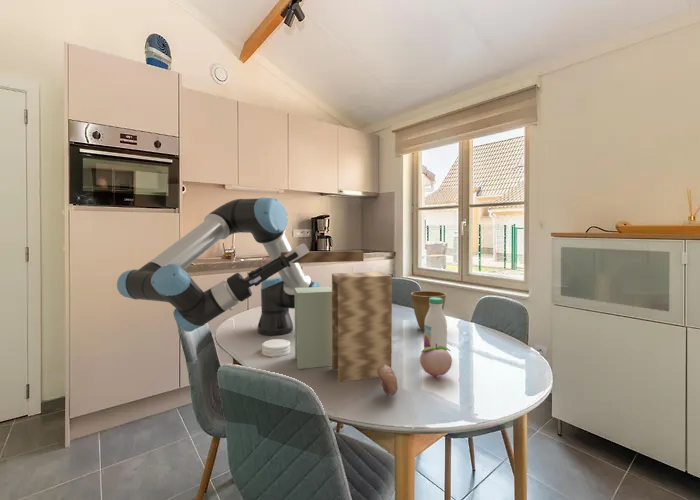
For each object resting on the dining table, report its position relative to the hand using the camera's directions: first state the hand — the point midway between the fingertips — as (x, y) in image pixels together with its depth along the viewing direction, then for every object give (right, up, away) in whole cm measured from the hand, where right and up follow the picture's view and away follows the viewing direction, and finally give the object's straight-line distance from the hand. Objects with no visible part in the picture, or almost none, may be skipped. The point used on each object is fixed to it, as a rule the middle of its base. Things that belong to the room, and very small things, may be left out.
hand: (306, 247), depth 99 cm
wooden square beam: (+5, -4, +2) cm, 6 cm away
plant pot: (+47, -36, +52) cm, 79 cm away
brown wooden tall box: (+16, -38, +6) cm, 42 cm away
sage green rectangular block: (+1, -38, +15) cm, 40 cm away
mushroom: (+23, -39, -9) cm, 46 cm away
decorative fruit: (+38, -38, +2) cm, 54 cm away
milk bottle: (+42, -38, +21) cm, 60 cm away
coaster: (-14, -38, +24) cm, 47 cm away
